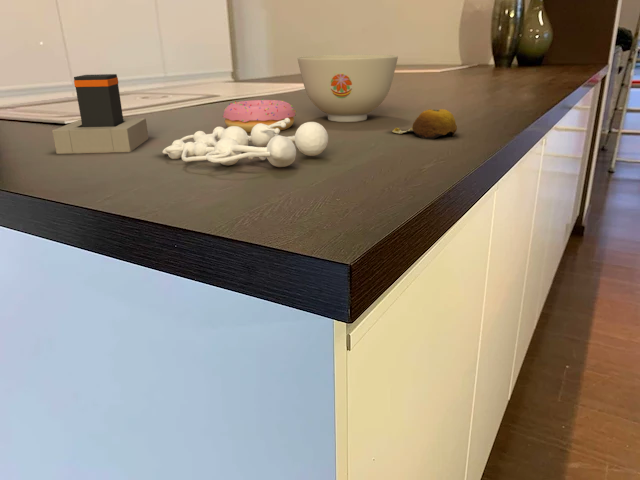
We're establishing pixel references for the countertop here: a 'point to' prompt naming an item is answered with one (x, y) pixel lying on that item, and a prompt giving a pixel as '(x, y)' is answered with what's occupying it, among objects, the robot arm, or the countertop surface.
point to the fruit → (432, 124)
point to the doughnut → (258, 113)
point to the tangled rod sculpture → (235, 141)
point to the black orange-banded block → (99, 100)
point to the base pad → (100, 137)
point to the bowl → (347, 83)
